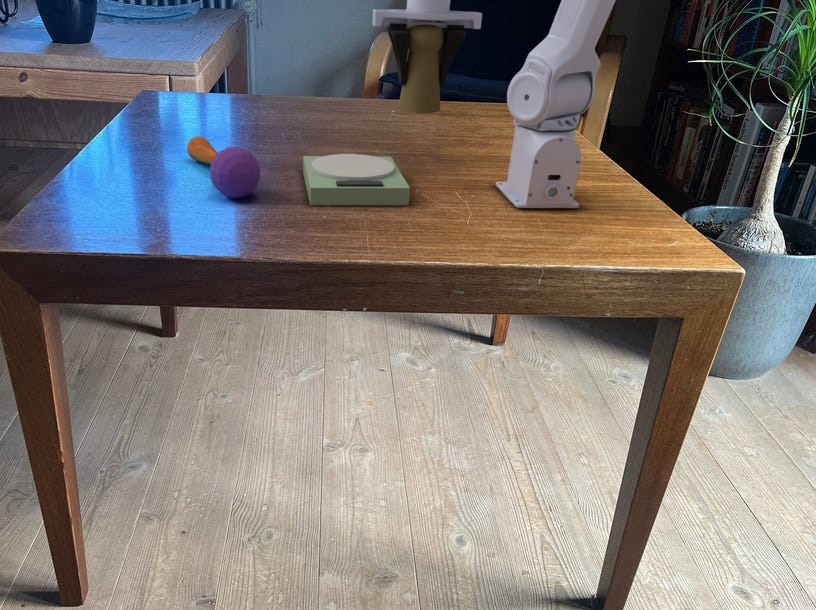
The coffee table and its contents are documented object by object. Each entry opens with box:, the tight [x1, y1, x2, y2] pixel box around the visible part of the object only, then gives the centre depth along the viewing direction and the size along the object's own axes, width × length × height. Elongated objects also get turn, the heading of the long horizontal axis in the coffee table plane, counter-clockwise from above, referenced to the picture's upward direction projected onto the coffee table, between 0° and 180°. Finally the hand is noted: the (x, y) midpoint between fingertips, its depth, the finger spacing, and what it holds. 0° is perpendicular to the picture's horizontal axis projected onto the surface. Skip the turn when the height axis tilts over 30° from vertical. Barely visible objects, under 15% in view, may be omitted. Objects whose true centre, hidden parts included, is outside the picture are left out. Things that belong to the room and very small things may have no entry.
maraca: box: [186, 136, 261, 199], centre depth 94 cm, size 6×6×20 cm
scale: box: [302, 153, 411, 206], centre depth 94 cm, size 14×12×3 cm
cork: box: [397, 25, 444, 114], centre depth 102 cm, size 6×6×11 cm
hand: (421, 83), depth 103 cm, fingers closed on cork, 5 cm apart
